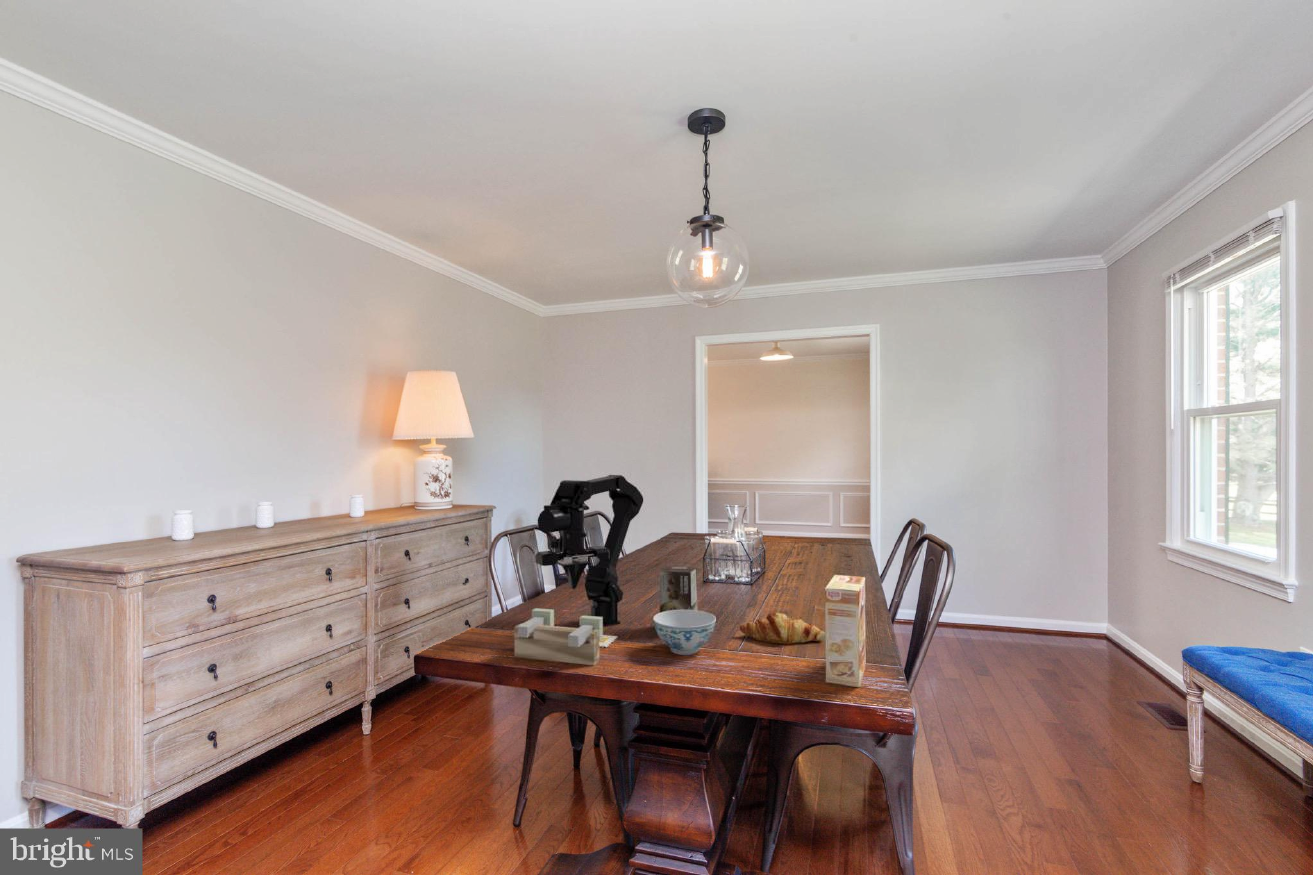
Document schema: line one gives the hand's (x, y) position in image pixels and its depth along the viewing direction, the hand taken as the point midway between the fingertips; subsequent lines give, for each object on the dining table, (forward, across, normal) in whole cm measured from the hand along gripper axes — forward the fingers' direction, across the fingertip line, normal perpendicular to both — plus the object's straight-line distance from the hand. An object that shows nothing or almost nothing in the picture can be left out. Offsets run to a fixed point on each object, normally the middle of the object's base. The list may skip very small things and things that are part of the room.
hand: (573, 588), depth 162 cm
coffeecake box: (+12, -39, +56) cm, 69 cm away
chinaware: (+12, -18, +25) cm, 33 cm away
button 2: (+8, +6, +20) cm, 23 cm away
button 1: (+8, +13, +8) cm, 17 cm away
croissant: (+12, -43, +31) cm, 55 cm away
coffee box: (+12, -26, +10) cm, 30 cm away
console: (+12, +10, +15) cm, 22 cm away
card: (+12, -2, +6) cm, 14 cm away
